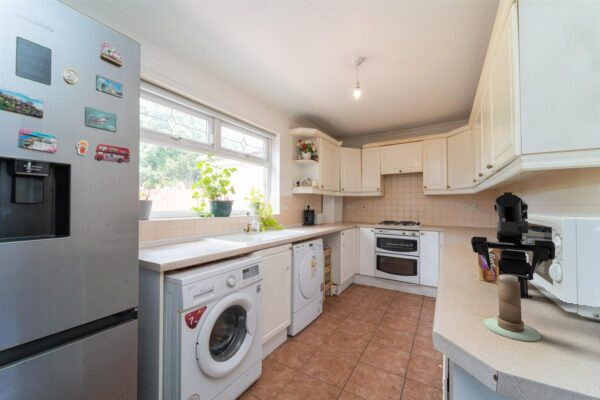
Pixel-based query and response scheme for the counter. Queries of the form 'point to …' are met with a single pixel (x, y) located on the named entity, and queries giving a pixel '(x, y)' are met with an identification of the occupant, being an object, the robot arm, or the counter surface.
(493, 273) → the candy box
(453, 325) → the counter surface
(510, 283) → the pepper mill
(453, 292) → the counter surface
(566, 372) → the counter surface
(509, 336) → the rubber mat
